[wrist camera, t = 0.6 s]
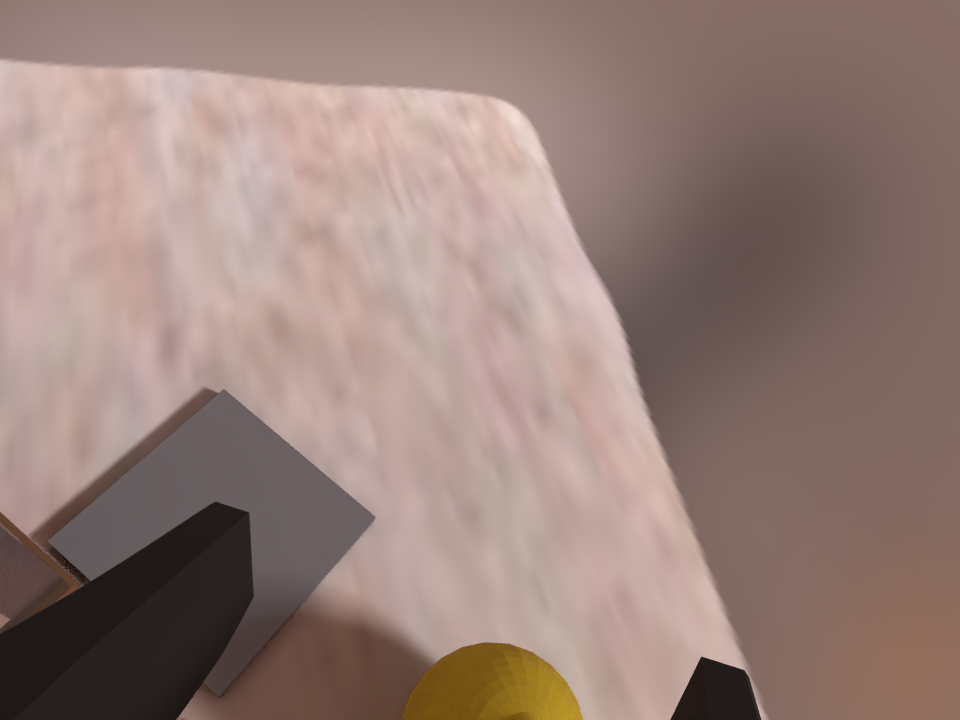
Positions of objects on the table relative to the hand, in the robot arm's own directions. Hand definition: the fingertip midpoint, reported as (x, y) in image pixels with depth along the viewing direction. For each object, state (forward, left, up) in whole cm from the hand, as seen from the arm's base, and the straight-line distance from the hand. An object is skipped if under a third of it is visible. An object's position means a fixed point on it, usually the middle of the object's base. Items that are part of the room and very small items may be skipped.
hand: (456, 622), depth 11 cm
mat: (+1, +7, -17) cm, 18 cm away
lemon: (+1, -4, -17) cm, 17 cm away
